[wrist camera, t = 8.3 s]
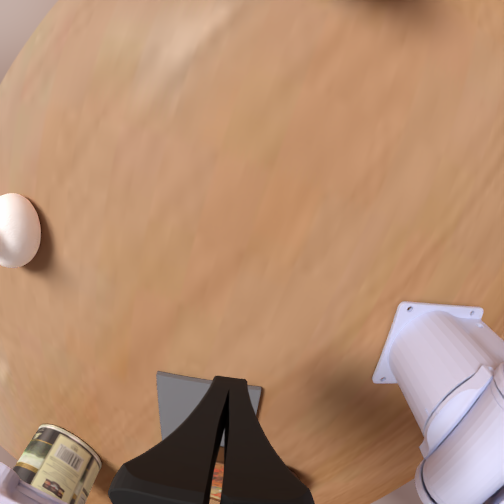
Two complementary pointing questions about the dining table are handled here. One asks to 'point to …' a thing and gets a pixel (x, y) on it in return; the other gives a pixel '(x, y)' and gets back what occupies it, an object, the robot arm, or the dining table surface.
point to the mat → (185, 399)
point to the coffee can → (59, 464)
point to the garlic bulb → (18, 230)
